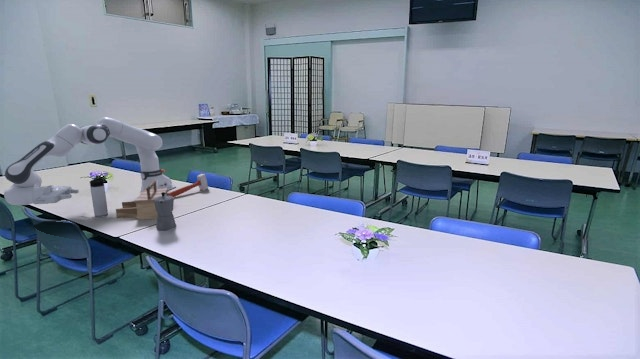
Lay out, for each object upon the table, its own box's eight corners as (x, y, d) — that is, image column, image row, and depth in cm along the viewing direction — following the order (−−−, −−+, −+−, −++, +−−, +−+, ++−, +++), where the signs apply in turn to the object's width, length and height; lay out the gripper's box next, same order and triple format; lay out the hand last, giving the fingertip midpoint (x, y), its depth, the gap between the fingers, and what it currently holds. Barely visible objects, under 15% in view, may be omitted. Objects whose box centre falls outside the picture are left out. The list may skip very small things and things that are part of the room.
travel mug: (111, 214, 194) (106, 178, 189) (100, 218, 187) (95, 181, 183) (102, 213, 195) (97, 177, 191) (91, 216, 189) (86, 180, 185)
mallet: (167, 190, 219) (205, 173, 242) (163, 189, 220) (202, 173, 244) (171, 206, 223) (208, 188, 246) (167, 205, 224) (205, 187, 248)
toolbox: (125, 208, 204) (122, 180, 200) (169, 205, 210) (166, 178, 206) (114, 221, 183) (110, 190, 179) (163, 218, 189) (160, 188, 185)
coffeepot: (174, 231, 171) (171, 195, 167) (153, 233, 169) (149, 196, 164) (179, 220, 185) (176, 187, 181) (159, 221, 183) (156, 188, 179)
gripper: (32, 194, 171) (65, 193, 175) (51, 184, 191) (81, 183, 194) (34, 207, 173) (67, 205, 176) (53, 195, 192) (82, 194, 196)
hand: (74, 193), depth 185 cm, fingers open, 8 cm apart
